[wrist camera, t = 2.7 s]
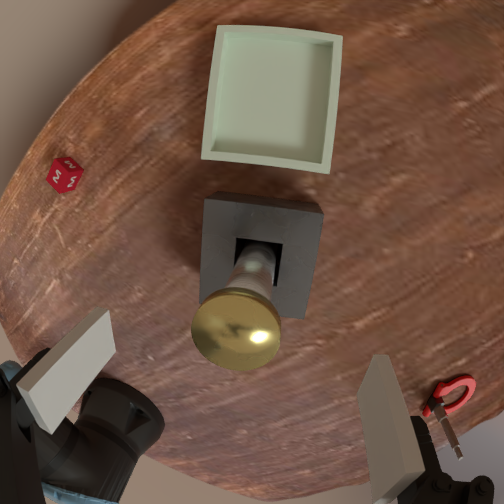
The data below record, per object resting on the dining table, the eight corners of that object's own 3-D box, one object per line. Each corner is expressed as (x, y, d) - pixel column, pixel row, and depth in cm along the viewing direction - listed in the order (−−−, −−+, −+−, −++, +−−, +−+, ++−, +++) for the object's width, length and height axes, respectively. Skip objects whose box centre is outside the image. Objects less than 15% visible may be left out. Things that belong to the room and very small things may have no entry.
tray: (208, 158, 28) (200, 159, 26) (222, 34, 24) (217, 25, 21) (325, 172, 27) (329, 174, 25) (338, 44, 23) (342, 35, 21)
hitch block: (211, 282, 33) (199, 303, 28) (217, 191, 29) (204, 198, 25) (302, 295, 32) (303, 319, 27) (318, 204, 28) (324, 214, 24)
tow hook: (480, 370, 33) (438, 377, 34) (516, 424, 21) (472, 441, 22) (459, 406, 36) (418, 414, 37) (486, 459, 24) (441, 475, 24)
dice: (70, 156, 30) (54, 158, 27) (84, 169, 30) (68, 172, 27) (61, 176, 31) (45, 179, 28) (74, 189, 31) (59, 193, 28)
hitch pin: (236, 263, 32) (191, 362, 16) (241, 219, 30) (191, 290, 15) (282, 270, 31) (273, 376, 16) (288, 225, 30) (287, 304, 14)
